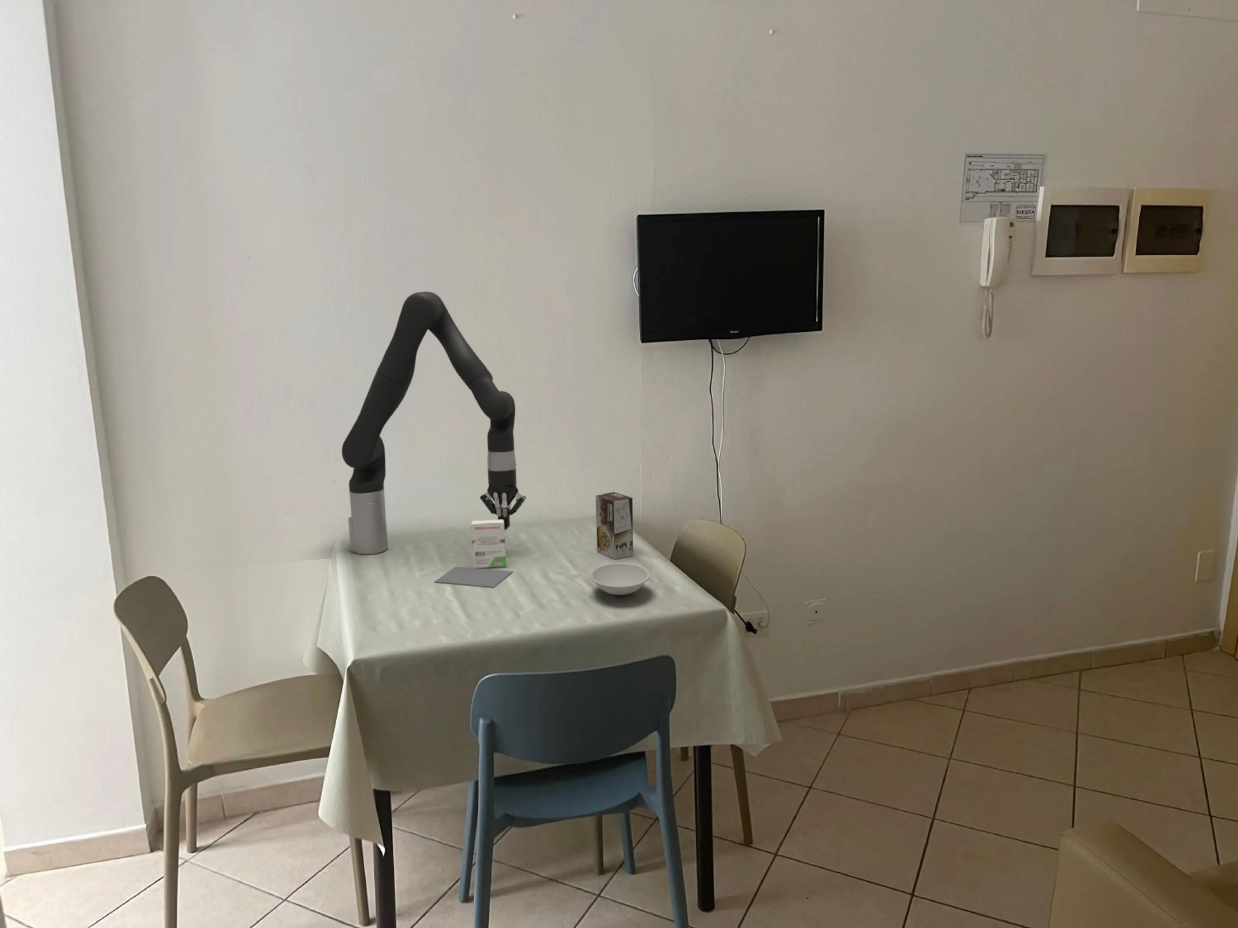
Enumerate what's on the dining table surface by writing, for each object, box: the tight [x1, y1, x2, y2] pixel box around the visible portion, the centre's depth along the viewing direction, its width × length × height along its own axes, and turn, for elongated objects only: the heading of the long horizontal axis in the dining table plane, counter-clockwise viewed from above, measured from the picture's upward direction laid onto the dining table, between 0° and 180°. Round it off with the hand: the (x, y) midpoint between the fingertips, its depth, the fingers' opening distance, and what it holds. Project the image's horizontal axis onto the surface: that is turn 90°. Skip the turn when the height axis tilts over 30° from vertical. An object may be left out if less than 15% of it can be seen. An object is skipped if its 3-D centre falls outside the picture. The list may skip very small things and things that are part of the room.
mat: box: [434, 566, 513, 589], centre depth 232 cm, size 16×12×1 cm
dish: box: [589, 562, 651, 596], centre depth 219 cm, size 18×14×5 cm
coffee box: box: [595, 491, 634, 560], centre depth 248 cm, size 9×6×16 cm
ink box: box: [470, 519, 507, 569], centre depth 240 cm, size 9×5×12 cm, turn 98°
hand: (504, 529), depth 249 cm, fingers closed
